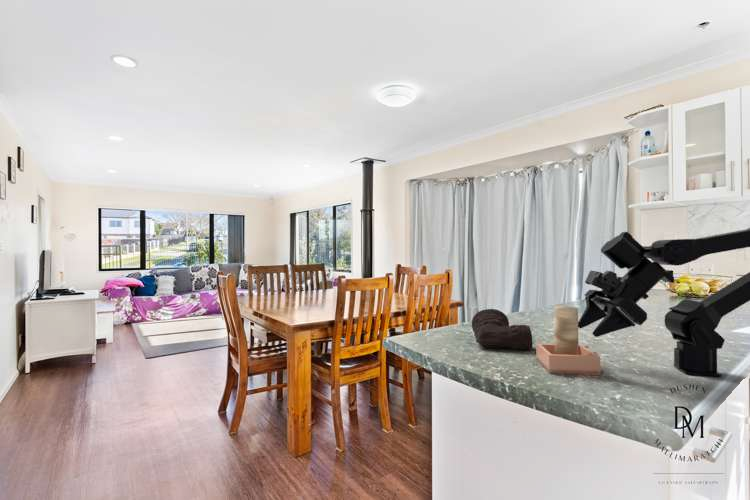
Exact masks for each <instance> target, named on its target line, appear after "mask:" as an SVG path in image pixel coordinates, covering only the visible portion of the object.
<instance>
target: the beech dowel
mask: <svg viewBox="0 0 750 500" xmlns="http://www.w3.org/2000/svg"><path fill="white" fill-rule="evenodd" d="M553 310H554V311H553V312H554V317H553V318H554V319H553V320H554V322H553V323H554V324H553V325H554V327H553V328H554V330H553V331H554V332H553V333H554V344H555V354H559V355H579V353H578V345H579V327H578V322H579V308H578V307H576V306H575V307H574V306H568V305H564V306H563V305H560V306H557V305H556V306H554V308H553Z"/></svg>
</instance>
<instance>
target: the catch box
mask: <svg viewBox="0 0 750 500" xmlns="http://www.w3.org/2000/svg"><path fill="white" fill-rule="evenodd" d="M583 345H584V344H578V353H579V355H559V354H555V343H536V344H535V346H536V357H535V359H536V361H537V362H538V363H539V364H540V365H541V366H542V368H544V369H545V370H546V371H547V373H549V374H562V375H563V374H565V375H586V376H587V375H588V376H589V375H590V376H601V375H602V374H601V372H602V371H601V356H600V355H599V354H595V353H594V352H592V351H593V350H590V349H589V348H586V347H584V346H583Z"/></svg>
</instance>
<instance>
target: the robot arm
mask: <svg viewBox="0 0 750 500" xmlns="http://www.w3.org/2000/svg"><path fill="white" fill-rule="evenodd" d="M746 248H750V227H748V228H746V229H741V230H736V231H731V232H725V233H719V234H715V235H709V236H703V237H699V238H681V239H679V238H677V239H675V238H674V239H659V240H655V241H654V242H652V243H651V245H649V246H645V245H644V246H643V245H642V244H640V243H639V242H638V241H637V240H636V239H635V238H634V237H633V236H632V234H630V233H629V231H622V232H621V233H620V234H619V235H617V236H614V237H613V238H612V239H610V240H609V241H607V242H606V243H604V244H603V246H602V247H601V249H600V252H601V253H602V254H603V255H604V256H605V257H606V258H608V259H609V260H610V261H611V262H612V263H613V264H614V265H615V266H617V268H619V269H621V270H622V269H625V268H626V269H627V270H628V271H627V272H626V273H625V274H624V275H623V276H618V273H616V272H614V271H612V270H606V271H605V272H601V271H597V270H589V273H588V275H587V277H586V279H585V281H584V284H588V285H591V286H594V287H595V288H598V289H588V291H586V292H585V293H584V301H585V304H586V306H585V309H584V311H583V312H582V315H581V317H580V318H579V319H578V329H582V328H583V329H584V328H585V327H587V326H589V325H591V324H594V323H595V322H597V321H600V322H599V323H598V325H597V326H596V327H595V329H594V330H593V332H592V335H593V336H594V337H595V338H597V337H601V336H605V335H607V334H610V333H613V332H616V331H620V330H624V329H627V328H630V327H635V326H636V325H637V326H642V325H643V324H644V323H645V322H646V321H647V320H648V312H646V311H645V309H644V308H642V307H641V306H640V305H638V304H637V303H638V302H639V301H640V300H641V299H642V300H647V298H649V295H648V294H647V293H649V292H650V291H651V290H652V289H653V288H654V287H655V286H657V284H658V283H659V282H661V281H662V282H663V283H664V282H665V283H671V284H673V283H675V277H674V270H669V269H666V268H665V267H663V266H682V265H685V264H688V263H691V262H693V261H696V260H698V259H700V258H702V257H704V256H707V255H711V254H713V255H714V254H717V253H722V252H728V251H729V252H730V251H734V250H740V249H741V250H742V249H746ZM662 265H663V266H662ZM599 289H601V290H599ZM748 302H750V271H749V272H747V273H746V274H744V275H742V276H740V277H739V278H738V279H736V280H734V281H732V282H730V283H729V284H727V285H726V286H724V287H722V288H721V289H719V290H718V291H716V292H714V293H713V294H711V295H709V296H708V297H706V298H704V299H703V300H699V301H698V300H693V299H692V300H691V299H687V298H685V299H683V300H681V301H680V302H678V304H676V305H674V306H671V307H668V309H669V311H668V312H667V313H665V315H664V320H663V322H664V326H665V328H666V329H667V330H668V331H669V332H670V333H671V336H672V339H673V340H674V341H675V340H676V347H674V348H673V349H674V350H673V353H674V354H673V359H674V361H673V362H674V363H673V367H675V368H676V369H678V370H679V371H681V372H683V373H684V374H685V375H696V376H697V375H698V376H710V377H722V375H723V374H722V373H720V372H719V371H718V349H722V348H723V345H724V343H725V342H726V341H725V338H724V337H723V336H722V335H721V334H720V333H718V332H717V331H716V329H717V328H718V326H719V324H720V322H721V319H722V318H723V317H725V316H726V315H729V313H731V312H733V311H735V310H736V309H738V308H739V307H742V306H743V305H745V304H747V303H748Z"/></svg>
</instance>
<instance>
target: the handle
mask: <svg viewBox="0 0 750 500" xmlns="http://www.w3.org/2000/svg"><path fill="white" fill-rule="evenodd" d="M582 345H583V346H584V347H586V348H587V349H589V346H588V345H587V344H582ZM591 351H592V352H594V353H595V354H597V351H595V350H594V351H593V350H591ZM597 355H598V354H597Z"/></svg>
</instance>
